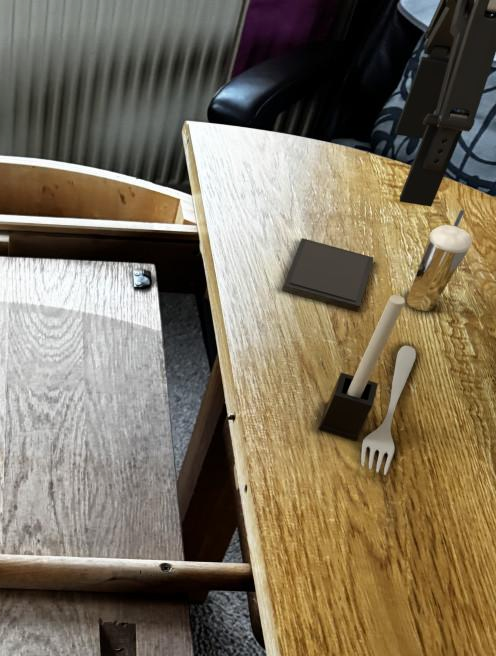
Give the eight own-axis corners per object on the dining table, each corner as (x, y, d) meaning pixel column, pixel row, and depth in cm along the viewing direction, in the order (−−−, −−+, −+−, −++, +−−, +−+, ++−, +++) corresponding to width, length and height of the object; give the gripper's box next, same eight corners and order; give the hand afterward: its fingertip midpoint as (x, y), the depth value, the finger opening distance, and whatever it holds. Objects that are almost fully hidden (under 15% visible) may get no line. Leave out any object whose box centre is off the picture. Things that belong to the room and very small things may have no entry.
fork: (423, 351, 104) (430, 338, 102) (383, 488, 90) (390, 475, 89) (394, 342, 104) (401, 329, 103) (350, 477, 91) (357, 464, 90)
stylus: (350, 416, 95) (406, 297, 84) (348, 425, 95) (404, 305, 83) (337, 412, 96) (391, 292, 84) (334, 421, 95) (389, 301, 84)
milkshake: (443, 295, 111) (483, 215, 103) (435, 319, 108) (476, 238, 100) (405, 283, 112) (442, 203, 103) (397, 307, 109) (434, 226, 101)
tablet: (371, 263, 114) (374, 256, 113) (357, 311, 107) (360, 305, 107) (299, 243, 115) (302, 236, 114) (281, 290, 109) (284, 283, 108)
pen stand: (362, 417, 96) (379, 382, 93) (356, 441, 94) (373, 406, 91) (324, 406, 97) (340, 371, 93) (318, 429, 95) (333, 394, 91)
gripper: (460, -171, 76) (369, 104, 93) (487, -84, 61) (372, 227, 78) (554, -160, 76) (445, 116, 92) (605, -69, 60) (463, 241, 77)
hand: (411, 167), depth 85 cm, fingers open, 13 cm apart
